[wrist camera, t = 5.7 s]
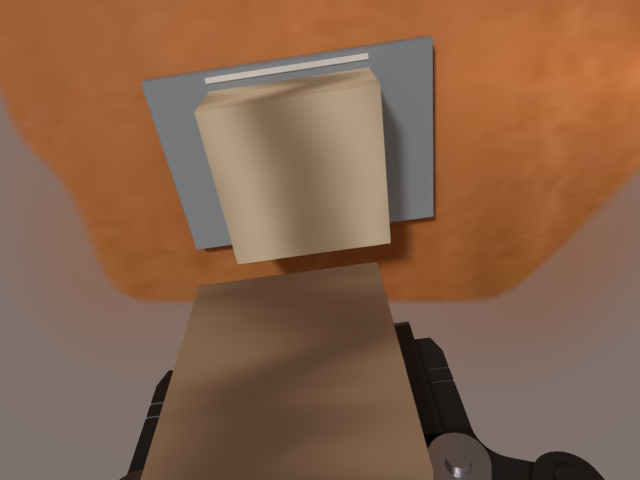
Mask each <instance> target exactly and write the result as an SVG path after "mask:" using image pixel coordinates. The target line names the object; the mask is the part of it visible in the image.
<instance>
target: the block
mask: <svg viewBox="0 0 640 480" xmlns="http://www.w3.org/2000/svg"><path fill="white" fill-rule="evenodd" d="M140 480H433V468H432V465H431V461H430V457H429V453H428V450H427V446H426V442H425V439H424V435H423V431H422V427H421V424H420V420H419V416H418V413H417V409H416V405H415V401H414V398H413V394H412V390H411V386H410V383H409V379H408V375H407V372H406V368H405V364H404V360H403V357H402V353H401V349H400V345H399V342H398V338H397V334H396V331H395V327H394V323H393V319H392V316H391V312H390V308H389V305H388V301H387V297H386V293H385V290H384V286H383V282H382V278H381V275H380V271H379V267H378V264H377V262H372V263H365V264H358V265H350V266H343V267H335V268H328V269H320V270H313V271H306V272H298V273H291V274H283V275H276V276H268V277H261V278H254V279H246V280H239V281H231V282H224V283H217V284H209V285H202V286H199V288H198V291H197V294H196V298H195V301H194V304H193V307H192V311H191V314H190V317H189V321H188V324H187V328H186V331H185V334H184V337H183V341H182V344H181V347H180V350H179V354H178V357H177V360H176V364H175V367H174V370H173V374H172V377H171V380H170V383H169V387H168V390H167V393H166V397H165V400H164V403H163V407H162V410H161V413H160V417H159V420H158V423H157V426H156V430H155V433H154V436H153V440H152V443H151V446H150V450H149V453H148V456H147V459H146V463H145V466H144V469H143V473H142V476H141V479H140Z"/></svg>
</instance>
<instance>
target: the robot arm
mask: <svg viewBox="0 0 640 480" xmlns="http://www.w3.org/2000/svg"><path fill="white" fill-rule="evenodd" d="M394 327H395V331H396V334H397V338H398V342H399V345H400V349H401V353H402V357H403V360H404V364H405V368H406V372H407V375H408V379H409V383H410V386H411V390H412V394H413V398H414V401H415V405H416V409H417V413H418V416H419V420H420V424H421V427H422V431H423V435H424V439H425V442H426V446H427V450H428V453H429V457H430V461H431V465H432V468H433V480H604V478H603V477H602V476H601V475H600V474H599V473H598V472H597V470H595V468H594V467H593V466H591V465H590V464H589V463H588V462H586V461H585V460H583V459H581V458H580V457H578V456H576V455H573V454H570V453H566V452H557V451H556V452H549V453H545V454H543V455H542V456H540V457H539V458H538V459H537V460H536V462H530V461H525V460H520V459H514V458H510V457H505V456H502V455H500V454H497V453H495V452H493V451H492V450H490V449H489V448H487V447H486V446H485V445H483V444H482V443H481V442H480V441H479V439H478V438H477V437H476V436H475V434H474V432H473V430H472V428H471V425H470V423H469V420H468V417H467V415H466V412H465V409H464V407H463V404H462V401H461V399H460V396H459V393H458V390H457V388H456V385H455V383H454V381H453V377H452V374H451V372H450V369H449V368H448V364H447V361H446V358H445V356H444V353H443V351H442V349H441V348H440V347H439V346H438V345H437V344H436V343H435V342H434V341H433V340H432V339H431V338H423V339H415V340H414V337H413V334H412V330H411V327H410V324H409V322H402V323H394ZM172 374H173V370H171V371H168V372H167V373H166V375H165V376H164V377H163V379H162V380H161V381H160V382H159V384H158V385H157V387H156V390H155V393H154V396H153V399H152V402H151V406H150V408H149V411H148V414H147V420H145V423H144V426H143V429H142V432H141V435H140V438H139V441H138V444H137V447H136V450H135V453H134V456H133V459H132V462H131V465H130V468H129V471H128V473H127V475H126V476H124V477H122V478H121V479H120V480H140V479H141V476H142V473H143V469H144V466H145V463H146V459H147V456H148V453H149V450H150V446H151V443H152V440H153V436H154V433H155V430H156V426H157V423H158V420H159V417H160V413H161V410H162V407H163V403H164V400H165V397H166V393H167V390H168V387H169V383H170V380H171V377H172Z"/></svg>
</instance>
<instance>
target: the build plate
mask: <svg viewBox="0 0 640 480" xmlns="http://www.w3.org/2000/svg"><path fill="white" fill-rule="evenodd" d="M368 67H369V68H370V70H371V71H372V72H373V74H374V75H375V77H376V78H377V80H378V81H379V83H380V86H381V101H382V117H383V132H384V147H385V163H386V178H387V193H388V209H389V223H391V222H398V221H405V220H412V219H419V218H426V217H433V216H434V207H433V38H432V37H430V36H425V37H418V38H412V39H405V40H399V41H392V42H386V43H380V44H373V45H367V46H360V47H354V48H347V49H341V50H334V51H328V52H322V53H315V54H309V55H302V56H296V57H289V58H283V59H276V60H270V61H264V62H257V63H251V64H244V65H238V66H231V67H225V68H218V69H212V70H206V71H199V72H193V73H186V74H180V75H173V76H167V77H160V78H154V79H148V80H144V81H143V82H142V83H141V85H142V88H143V91H144V94H145V97H146V100H147V103H148V106H149V109H150V112H151V115H152V118H153V121H154V124H155V127H156V130H157V132H158V135H159V138H160V141H161V144H162V147H163V150H164V153H165V156H166V159H167V162H168V165H169V168H170V171H171V174H172V177H173V180H174V183H175V186H176V189H177V192H178V195H179V198H180V201H181V204H182V206H183V209H184V212H185V215H186V218H187V221H188V224H189V227H190V230H191V233H192V236H193V239H194V242H195V245H196V248H197V250H198V249H205V248H212V247H219V246H227V245H232V242H231V239H230V235H229V232H228V228H227V225H226V221H225V218H224V214H223V211H222V207H221V204H220V201H219V197H218V194H217V190H216V187H215V183H214V180H213V176H212V173H211V169H210V166H209V162H208V159H207V155H206V152H205V148H204V145H203V141H202V138H201V134H200V131H199V127H198V124H197V120H196V117H195V113H194V112H195V110H196V109H197V108H198V106H199V105H200V103H201V102H202V100H203V99H204V98H205V96H206V95H207V93H208V92H212V91H218V90H225V89H231V88H238V87H244V86H251V85H257V84H264V83H270V82H277V81H283V80H290V79H296V78H303V77H310V76H316V75H323V74H329V73H336V72H342V71H349V70H355V69H362V68H368Z"/></svg>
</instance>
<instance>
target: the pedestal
mask: <svg viewBox="0 0 640 480" xmlns="http://www.w3.org/2000/svg"><path fill="white" fill-rule="evenodd" d="M194 113H195V117H196V120H197V124H198V127H199V131H200V134H201V138H202V141H203V145H204V148H205V152H206V155H207V159H208V162H209V166H210V169H211V173H212V176H213V180H214V183H215V187H216V190H217V194H218V197H219V201H220V204H221V207H222V211H223V214H224V218H225V221H226V225H227V228H228V232H229V235H230V239H231V242H232V246H233V249H234V253H235V256H236V260H237V263H238V264H244V263H251V262H258V261H265V260H272V259H280V258H287V257H294V256H301V255H309V254H316V253H323V252H330V251H337V250H345V249H352V248H359V247H366V246H374V245H381V244H388V243H391V240H390V224H389V209H388V193H387V178H386V163H385V147H384V132H383V117H382V101H381V86H380V83H379V81H378V80H377V78H376V77H375V75H374V74H373V72H372V71H371V70H370V68H369V67H368V68H362V69H355V70H349V71H342V72H336V73H329V74H323V75H316V76H310V77H303V78H296V79H290V80H283V81H277V82H270V83H264V84H257V85H251V86H244V87H238V88H231V89H225V90H218V91H212V92H208V93H207V95H206V96H205V98H204V99H203V100H202V102H201V103H200V105H199V106H198V108H197V109H196V110H195V112H194Z"/></svg>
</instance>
